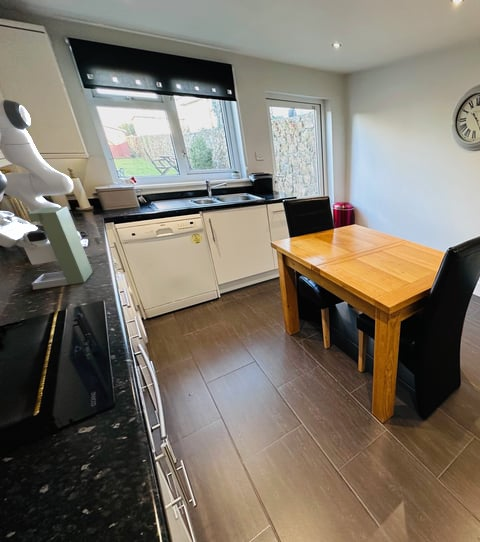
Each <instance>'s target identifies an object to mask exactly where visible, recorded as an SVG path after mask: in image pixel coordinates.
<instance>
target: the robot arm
mask: <svg viewBox="0 0 480 542" xmlns="http://www.w3.org/2000/svg"><path fill="white" fill-rule="evenodd" d="M31 123H32V122H31V117H30V114H29V112H28V111H27V109H26V108H25V107H24V106H23V105H22V104H20V103H19V102H17V101H14V100H9V99H0V151H1V153H2V155H3V157H4V159H5V160H6V161H7V162H9V163H10V164H13V165H15V166H18V167H21V168H23V169H25V170H27V171H28V172H9V173H3V172H2V171H1V170H0V203H1V202H2V200H3V198H4V194H5V195H7V196H9V197H12V198H14V199H16V200H18V201H19V202H21V203H22V204H24V206H26V207H27V208H28V209H29V211H30V213H31V212H33V211H35V210H38V209H40V208H49V207H62V206H61V205H59V204H57V203H55V202H51V201H49V200H46V199H45V198H44V197H47V196H49V197H50V196H62V195H67V194H71V193H72V192H73V191H74V188H75V185H74V182H73V180H72V179H71V178H70V177H69V176H68V175H66V174H65V173H62V172H61V171H58V170H56V169H54V168H53V167H52V166H50V165H49V164H48V163H47V162H46V161H45V160H44V159H43V157H42V156H41V154H40V153H39V151H38V149H37V148H36V145H35V144H34V141H33V139H32V137H31V136H30V134H29V133H28V131H27V130H26V129H28V128H30V126H31ZM36 223H37V225H34V224H32V222H30V221H27V220H25V219H23V218H20V217H19V216H16V215H15V214H14V213H13V212H11V211H6V210H0V246H1V247H4V248H12V247H13V246H17V247H18V248H19V247H20V248H23V249H24V248H28V249H30V250H34V249H35V248H36V247H37V246H36V245H34V244H32V243H31V244H30V243H27V242H25V241H24V239H23V237H24V233H25V232H28V231H36V230H40V231H44V232H45V230H44V228H43V226H42V224H41V223H40V221H39V222H36ZM77 233H78V235H79V238H80V241H81V243H82V246H83V248H84V249H85V248H88V246H89V240H88V238H82V237H86V236H88V232H86V231H82V230H81V231H78V230H77ZM45 234H46V232H45ZM46 236H47V235H46ZM47 238H48V237H47ZM48 240H49V239H48Z"/></svg>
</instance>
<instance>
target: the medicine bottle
mask: <svg viewBox="0 0 480 542" xmlns="http://www.w3.org/2000/svg"><path fill="white" fill-rule="evenodd" d="M23 239H24V240H23V241H24V242H27V243H30V244H31V243H32V244H34V245H36V246H37V247H36V248H35V249H34V250H30V249H28V248H24V247H23V249H24V252H25V254H26V256H27V258H28V260H29V262H30V264H31V265H32V266H36V265H41V264H47V263H53V262H58V260H57V258H56V255H55V253H54V251H53V248H52V246H51V244H50V242H49V240H48V238H47V236H46V234H45V232H44V231H40V230H36V231H28V232H25V233H24V237H23Z"/></svg>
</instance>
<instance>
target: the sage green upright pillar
mask: <svg viewBox="0 0 480 542" xmlns="http://www.w3.org/2000/svg"><path fill="white" fill-rule="evenodd" d="M71 215H72V214H71V213H70V210H69V207H68V206H61V207H49V208H40V209H38V210H35V211H33V212H31V211H30V212H28V213H27V216H28V218H29V220H30V221H29V222H30V223H37V222H39V221H40V223H41V224H42V226H43V228H44V230H45V232H46V235H47V237H48V239H49V242H50V244H51V246H52V248H53V251H54V253H55V255H56V258H57V260H58V261H57V262H58V265H59V267H60V269H61V271H55V272H47V273H42V274H41V275H40V276H39V277H37V278H36V279H35V280H34V281H33V282H31V286H32V290H33V291H35V290H42V289H49V288H54V287H55V288H56V287H62V286H63V287H64V286H68V285H76V284H82V283H83V284H84V283H86V282H87V280H88V279H89V277H90V276H91V275H92V273H93V269H92V266H91V263H90V261H89V259H88V256H87V254H86V250H85V247H84V248H83V246H82V243H81V241H80V238H79V235H78V233H77V231H78V230H77V228H76V226H75V222H74V220H73V218H72V216H71Z"/></svg>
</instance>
